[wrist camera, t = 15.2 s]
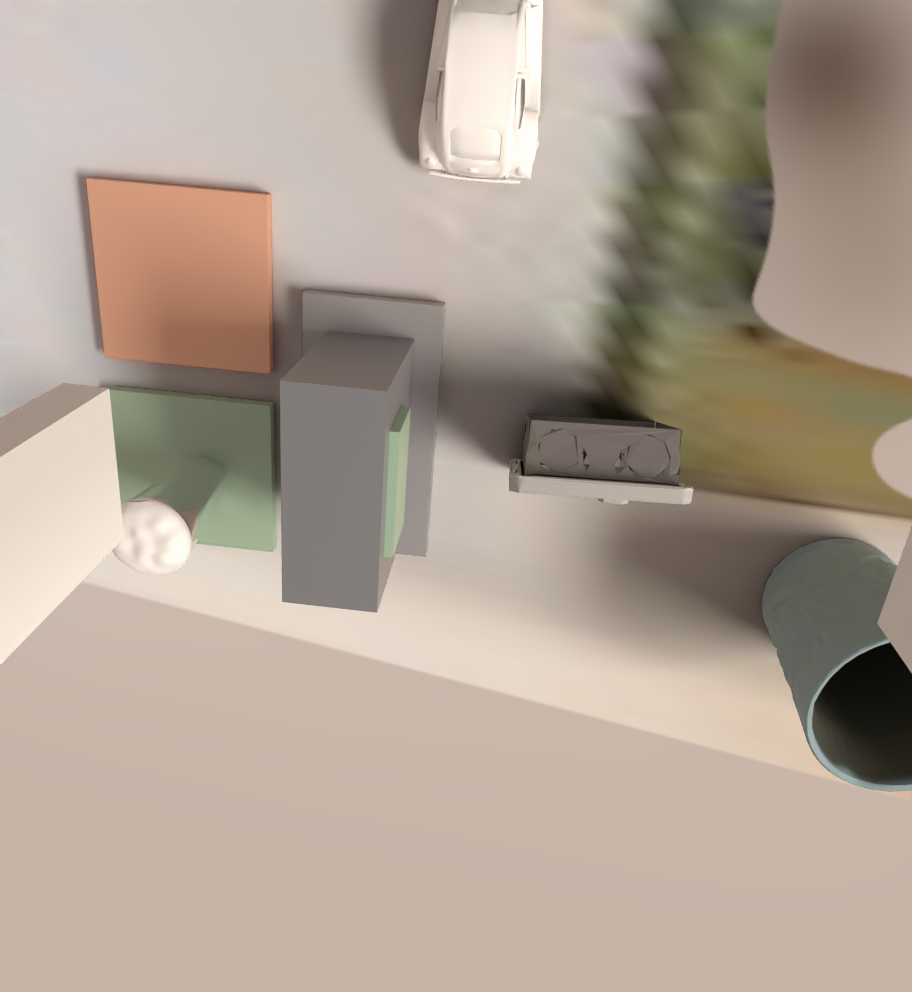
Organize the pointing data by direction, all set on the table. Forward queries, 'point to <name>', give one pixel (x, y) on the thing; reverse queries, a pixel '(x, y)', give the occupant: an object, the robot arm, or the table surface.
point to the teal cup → (843, 660)
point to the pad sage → (202, 432)
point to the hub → (357, 445)
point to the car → (483, 90)
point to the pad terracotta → (183, 274)
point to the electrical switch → (600, 460)
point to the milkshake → (170, 516)
